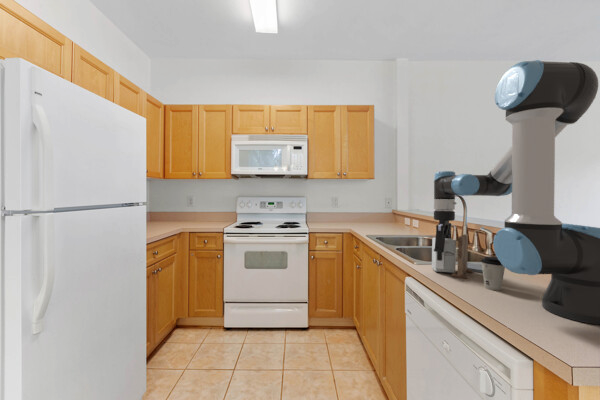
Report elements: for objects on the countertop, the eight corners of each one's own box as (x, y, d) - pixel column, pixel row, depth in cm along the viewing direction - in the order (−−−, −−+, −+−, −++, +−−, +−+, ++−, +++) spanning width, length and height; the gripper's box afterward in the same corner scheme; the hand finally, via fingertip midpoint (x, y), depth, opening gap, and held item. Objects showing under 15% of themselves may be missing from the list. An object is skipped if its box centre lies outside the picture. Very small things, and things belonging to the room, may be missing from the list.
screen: (466, 279, 106) (467, 238, 105) (451, 276, 109) (452, 236, 109) (472, 272, 115) (473, 234, 115) (458, 270, 118) (459, 233, 118)
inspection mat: (492, 274, 112) (492, 271, 112) (463, 270, 118) (463, 267, 118) (495, 269, 119) (495, 266, 119) (467, 265, 126) (467, 262, 126)
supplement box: (435, 272, 113) (435, 239, 113) (431, 267, 121) (431, 237, 120) (455, 273, 112) (456, 240, 111) (450, 268, 119) (451, 237, 119)
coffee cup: (485, 290, 93) (485, 259, 93) (477, 284, 100) (477, 255, 100) (509, 292, 92) (510, 261, 91) (499, 285, 98) (500, 256, 98)
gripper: (447, 211, 105) (446, 273, 105) (460, 209, 122) (459, 262, 122) (426, 210, 110) (425, 269, 110) (441, 209, 127) (440, 260, 127)
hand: (443, 266), depth 116 cm, fingers closed on supplement box, 9 cm apart
